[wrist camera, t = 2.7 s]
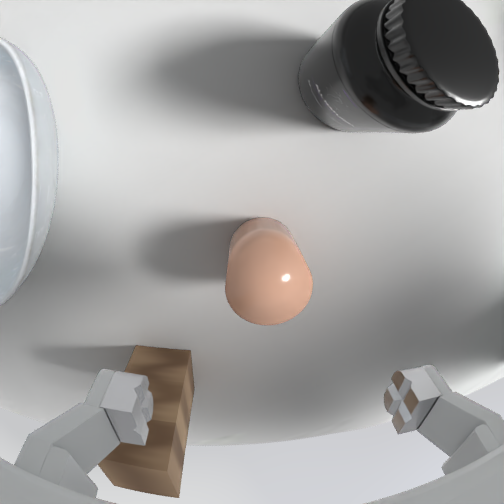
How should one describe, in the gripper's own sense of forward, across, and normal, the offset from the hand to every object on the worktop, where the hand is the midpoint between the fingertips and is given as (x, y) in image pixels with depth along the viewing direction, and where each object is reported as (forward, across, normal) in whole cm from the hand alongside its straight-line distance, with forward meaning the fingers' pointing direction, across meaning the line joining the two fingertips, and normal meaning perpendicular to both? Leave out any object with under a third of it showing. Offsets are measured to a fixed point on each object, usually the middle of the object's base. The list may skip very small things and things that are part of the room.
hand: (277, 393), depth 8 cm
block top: (+5, -8, -12) cm, 15 cm away
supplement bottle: (+14, +6, +12) cm, 19 cm away
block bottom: (+13, -7, -12) cm, 20 cm away
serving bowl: (+14, -22, +7) cm, 27 cm away
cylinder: (+13, +1, 0) cm, 13 cm away
